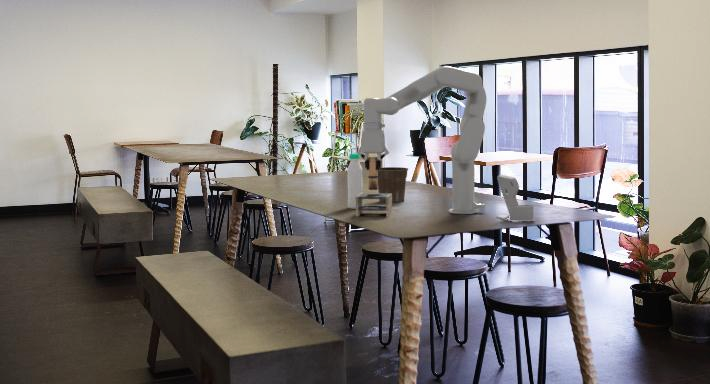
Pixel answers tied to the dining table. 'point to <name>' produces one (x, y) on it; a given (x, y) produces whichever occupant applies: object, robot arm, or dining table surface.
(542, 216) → the dining table surface
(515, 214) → the phone holder
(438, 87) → the robot arm
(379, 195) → the collar stand
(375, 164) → the tan cylinder
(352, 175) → the water bottle
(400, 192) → the plant pot
